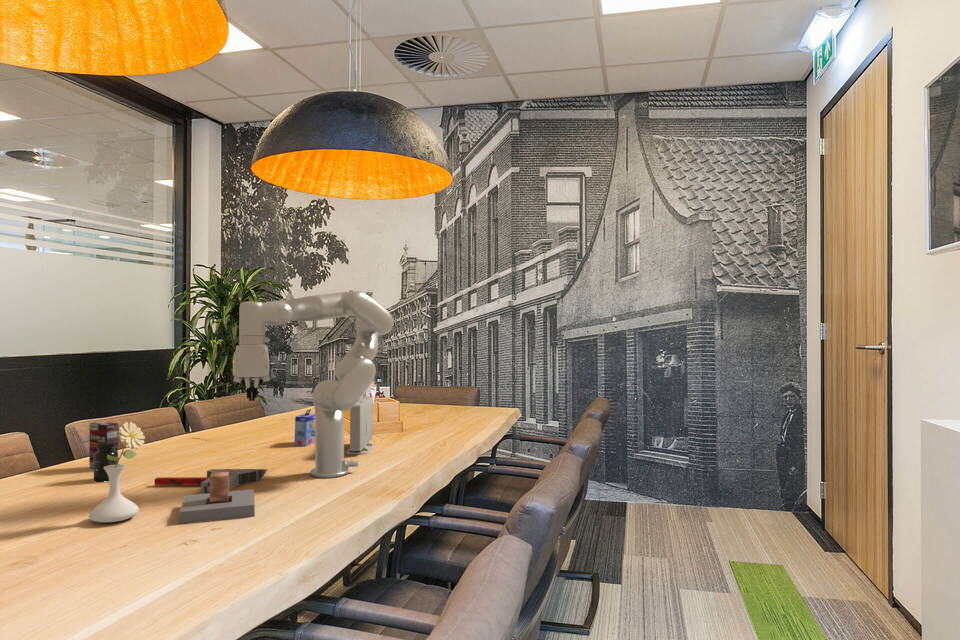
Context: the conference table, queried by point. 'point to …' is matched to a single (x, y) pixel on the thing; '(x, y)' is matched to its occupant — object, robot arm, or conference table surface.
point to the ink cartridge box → (305, 429)
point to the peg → (219, 487)
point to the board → (217, 507)
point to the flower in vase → (115, 503)
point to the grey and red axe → (234, 478)
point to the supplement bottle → (103, 460)
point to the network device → (361, 426)
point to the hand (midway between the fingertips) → (251, 400)
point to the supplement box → (102, 437)
